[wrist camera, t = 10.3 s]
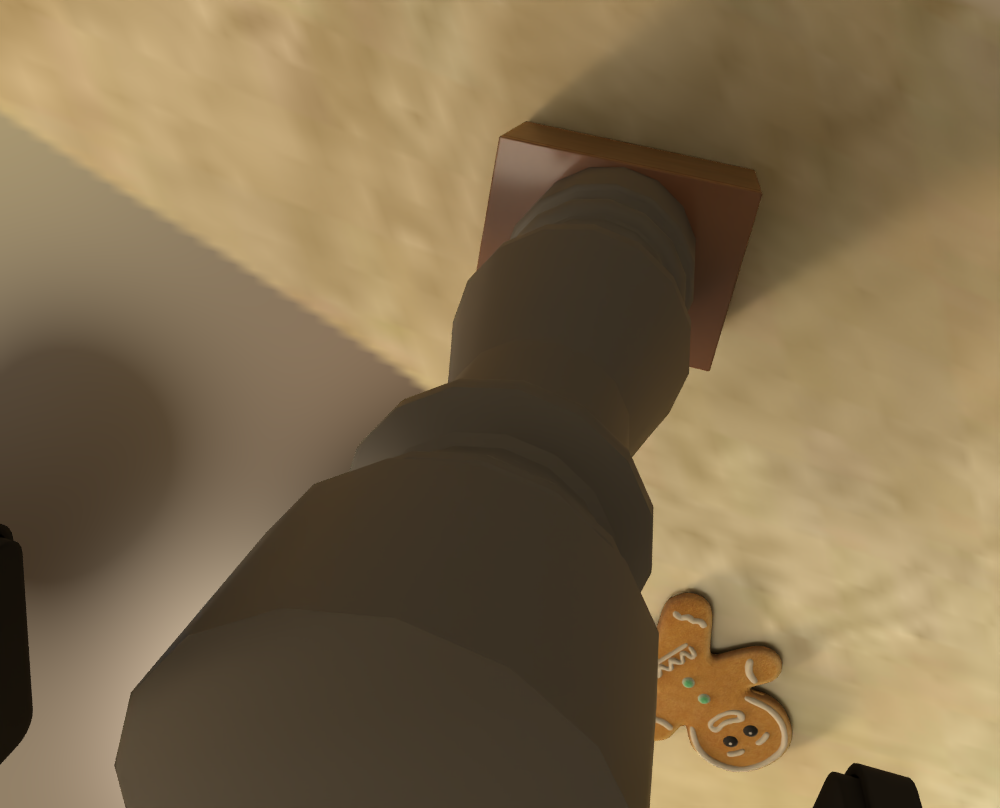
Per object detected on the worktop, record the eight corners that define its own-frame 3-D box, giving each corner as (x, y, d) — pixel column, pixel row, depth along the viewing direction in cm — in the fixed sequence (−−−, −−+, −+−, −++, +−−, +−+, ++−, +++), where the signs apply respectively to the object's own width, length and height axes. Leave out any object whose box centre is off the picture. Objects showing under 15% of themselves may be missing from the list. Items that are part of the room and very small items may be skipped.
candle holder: (534, 150, 31) (79, 514, 8) (716, 184, 30) (750, 684, 8) (506, 320, 34) (101, 947, 11) (673, 356, 33) (605, 1107, 10)
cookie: (705, 583, 41) (844, 734, 42) (705, 572, 42) (841, 720, 43) (568, 668, 44) (701, 805, 45) (570, 656, 45) (701, 791, 46)
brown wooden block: (525, 120, 36) (499, 135, 31) (755, 169, 34) (762, 193, 30) (496, 278, 38) (468, 314, 34) (708, 328, 37) (709, 371, 33)
